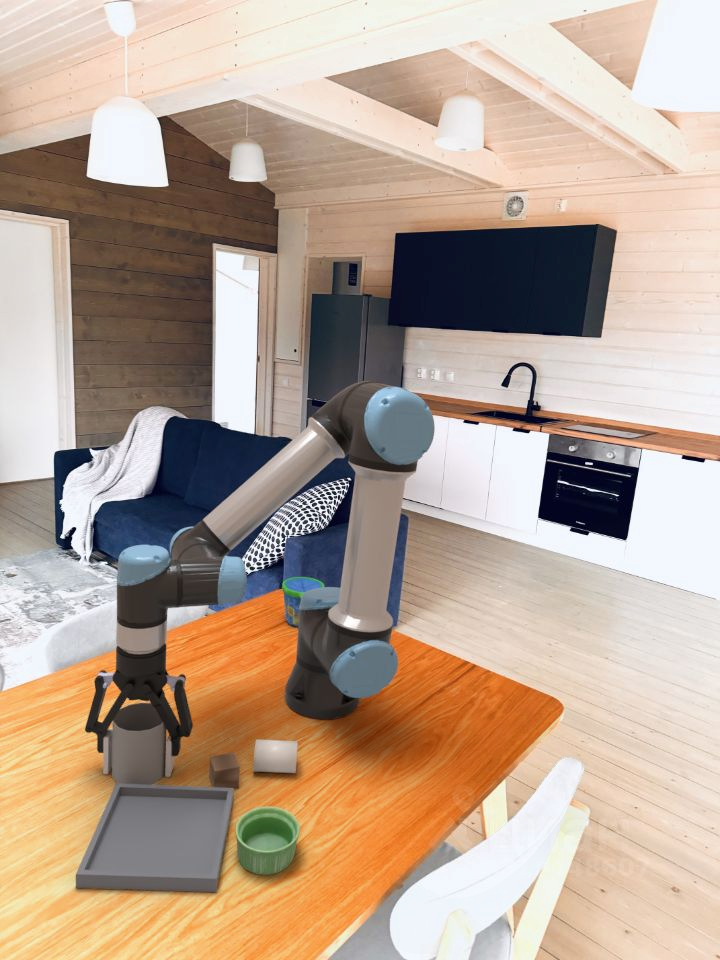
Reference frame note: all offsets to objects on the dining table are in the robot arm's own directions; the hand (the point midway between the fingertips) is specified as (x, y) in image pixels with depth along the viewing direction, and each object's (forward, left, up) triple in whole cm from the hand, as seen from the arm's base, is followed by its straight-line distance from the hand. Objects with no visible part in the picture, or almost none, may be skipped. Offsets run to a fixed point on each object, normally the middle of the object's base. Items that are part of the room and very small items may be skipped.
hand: (138, 770), depth 113 cm
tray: (-7, +15, 0) cm, 17 cm away
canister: (-22, -4, +4) cm, 23 cm away
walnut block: (-14, +2, 0) cm, 14 cm away
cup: (0, 0, 0) cm, 0 cm away
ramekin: (-22, +17, -1) cm, 28 cm away
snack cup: (-25, -61, 0) cm, 66 cm away
